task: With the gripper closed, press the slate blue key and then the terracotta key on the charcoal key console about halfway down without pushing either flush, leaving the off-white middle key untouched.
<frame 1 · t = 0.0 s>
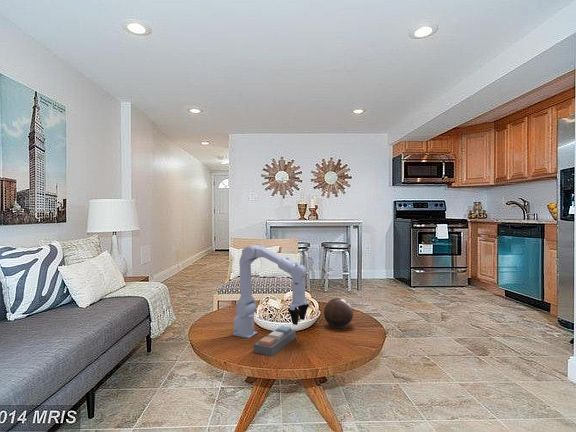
hand: (298, 321, 157), 10 cm above the table, tool pointing down, fingers open, 7 cm apart
wooden sphere: (338, 327, 180), on the table
terracotta key: (267, 342, 149), point 4 cm above the table, slide at 0.0 cm
white key: (276, 336, 156), point 4 cm above the table, slide at 0.0 cm
blue key: (284, 330, 164), point 4 cm above the table, slide at 0.0 cm
key console: (276, 344, 156), on the table
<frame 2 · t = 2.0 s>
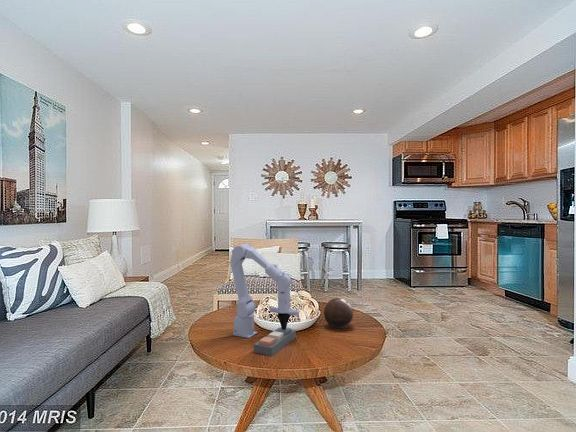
hand: (284, 329, 164), 5 cm above the table, tool pointing down, fingers closed, pressing on blue key
blue key: (284, 331, 164), point 3 cm above the table, slide at 0.4 cm, touching gripper
everything else where it was.
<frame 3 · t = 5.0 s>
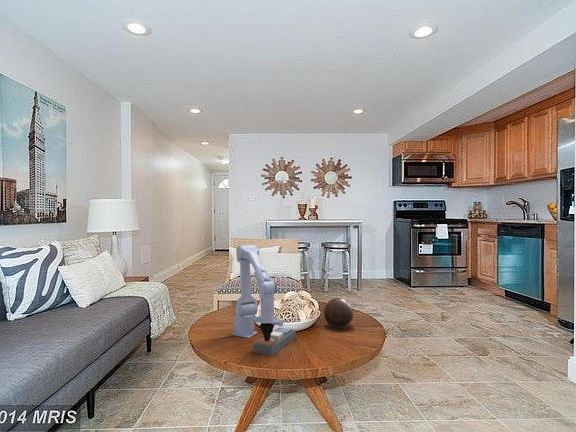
hand: (267, 340, 149), 5 cm above the table, tool pointing down, fingers closed, pressing on terracotta key
terracotta key: (267, 343, 149), point 3 cm above the table, slide at 0.4 cm, touching gripper
blue key: (284, 332, 164), point 3 cm above the table, slide at 0.9 cm
everything else where it was.
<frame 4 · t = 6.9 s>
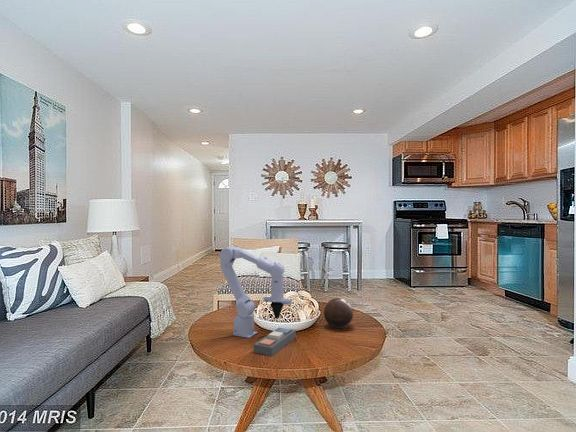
hand: (277, 317, 166), 9 cm above the table, tool pointing down, fingers closed
terracotta key: (267, 344, 149), point 3 cm above the table, slide at 0.9 cm
everything else where it was.
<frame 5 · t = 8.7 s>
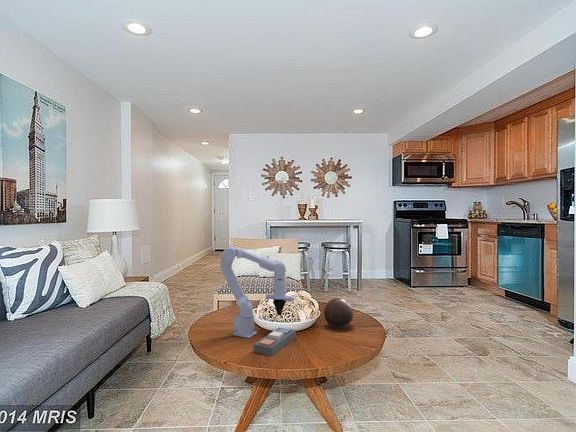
hand: (279, 314, 170), 9 cm above the table, tool pointing down, fingers closed
nothing on the table moved.
at the end: blue key slide at 0.9 cm; terracotta key slide at 0.9 cm; white key slide at 0.0 cm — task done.
